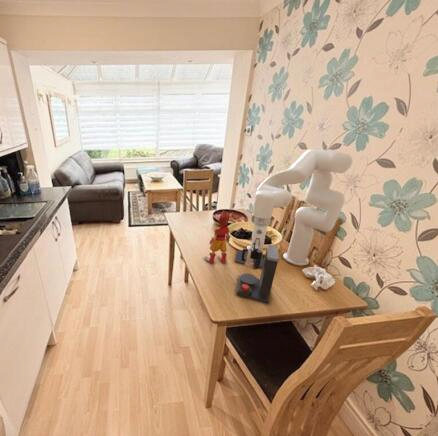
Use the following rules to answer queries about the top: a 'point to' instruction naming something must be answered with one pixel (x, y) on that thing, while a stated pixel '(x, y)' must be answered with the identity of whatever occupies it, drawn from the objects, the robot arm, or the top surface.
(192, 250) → the top surface
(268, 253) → the brewer column
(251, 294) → the coffee maker
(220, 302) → the top surface
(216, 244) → the toy
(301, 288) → the top surface
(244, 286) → the power button
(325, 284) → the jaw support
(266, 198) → the robot arm
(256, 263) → the kettle
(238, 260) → the plate
